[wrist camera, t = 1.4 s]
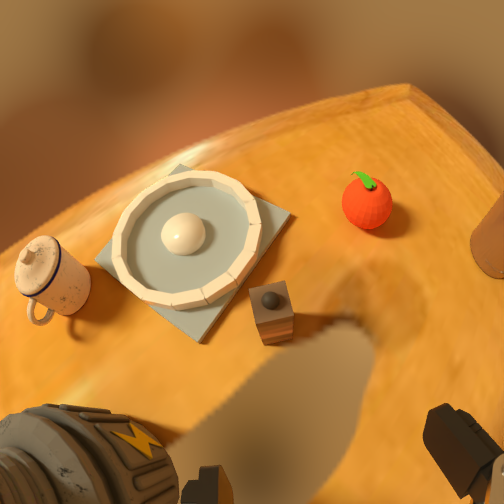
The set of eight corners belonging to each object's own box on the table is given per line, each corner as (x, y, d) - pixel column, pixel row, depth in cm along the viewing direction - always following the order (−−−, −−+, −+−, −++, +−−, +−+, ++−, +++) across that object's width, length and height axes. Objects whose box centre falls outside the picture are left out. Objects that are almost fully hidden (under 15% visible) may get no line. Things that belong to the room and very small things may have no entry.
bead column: (258, 318, 36) (246, 283, 27) (285, 312, 36) (284, 275, 27) (263, 345, 35) (254, 320, 25) (292, 338, 35) (294, 311, 25)
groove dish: (181, 167, 50) (176, 155, 47) (290, 216, 43) (290, 203, 40) (97, 262, 43) (87, 253, 40) (199, 343, 35) (192, 338, 33)
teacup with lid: (61, 261, 44) (18, 223, 34) (100, 266, 42) (57, 224, 32) (38, 328, 38) (-13, 300, 28) (77, 342, 37) (22, 315, 27)
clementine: (326, 202, 43) (331, 168, 37) (365, 188, 44) (374, 154, 38) (354, 245, 39) (365, 215, 33) (394, 228, 40) (408, 197, 34)
